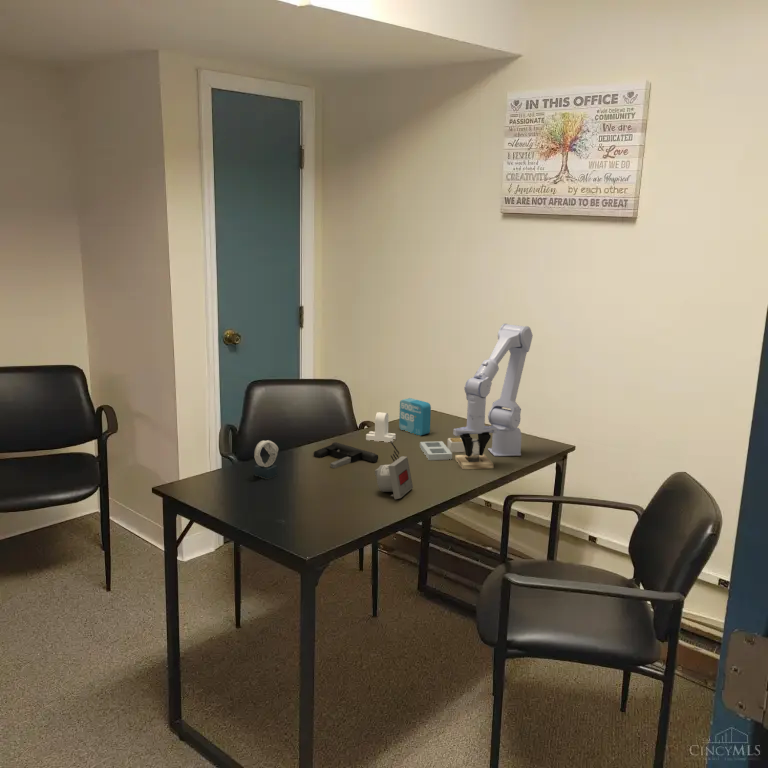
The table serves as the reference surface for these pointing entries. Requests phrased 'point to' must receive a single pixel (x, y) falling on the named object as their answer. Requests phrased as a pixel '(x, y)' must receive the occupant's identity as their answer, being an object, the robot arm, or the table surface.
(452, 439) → the key
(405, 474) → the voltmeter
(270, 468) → the grey ring on stand
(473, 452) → the grey rounded cylinder
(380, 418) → the cable organizer
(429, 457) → the frame
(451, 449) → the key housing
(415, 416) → the data package
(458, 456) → the wooden square frame
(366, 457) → the submachine gun
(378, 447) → the table surface
